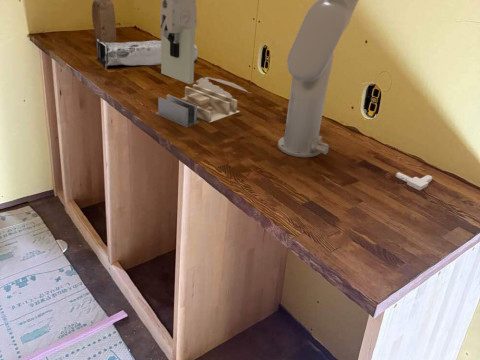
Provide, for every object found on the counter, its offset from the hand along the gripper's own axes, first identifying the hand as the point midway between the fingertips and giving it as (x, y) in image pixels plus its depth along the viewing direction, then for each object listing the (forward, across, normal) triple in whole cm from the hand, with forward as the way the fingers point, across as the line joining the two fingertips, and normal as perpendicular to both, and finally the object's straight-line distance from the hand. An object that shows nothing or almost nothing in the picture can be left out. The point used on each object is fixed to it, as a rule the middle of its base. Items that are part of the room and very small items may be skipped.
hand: (177, 55), depth 137 cm
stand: (+20, 0, 0) cm, 20 cm away
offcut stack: (+19, +9, +1) cm, 21 cm away
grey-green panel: (+7, 0, 0) cm, 7 cm away
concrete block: (+21, +34, +55) cm, 68 cm away
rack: (+20, +12, +1) cm, 24 cm away
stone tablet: (+21, +31, +8) cm, 39 cm away
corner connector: (+21, +22, -68) cm, 74 cm away
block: (+21, +34, +84) cm, 93 cm away
